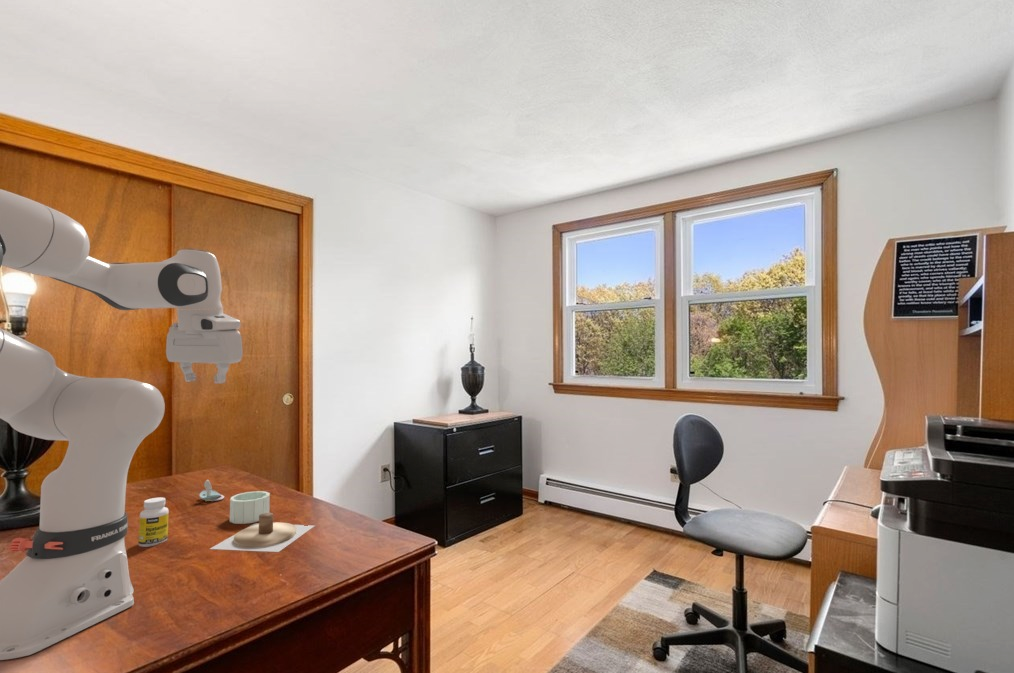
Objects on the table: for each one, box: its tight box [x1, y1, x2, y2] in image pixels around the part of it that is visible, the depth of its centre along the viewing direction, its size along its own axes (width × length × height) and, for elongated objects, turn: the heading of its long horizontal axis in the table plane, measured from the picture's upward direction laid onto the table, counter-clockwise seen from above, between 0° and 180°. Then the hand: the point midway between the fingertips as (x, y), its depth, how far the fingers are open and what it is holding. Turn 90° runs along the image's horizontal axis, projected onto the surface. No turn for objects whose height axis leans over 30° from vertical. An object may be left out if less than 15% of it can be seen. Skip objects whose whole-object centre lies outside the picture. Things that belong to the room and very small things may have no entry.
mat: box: [209, 522, 315, 553], centre depth 111 cm, size 16×16×1 cm
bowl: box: [229, 490, 271, 525], centre depth 124 cm, size 9×9×6 cm
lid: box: [234, 512, 296, 548], centre depth 111 cm, size 13×13×5 cm
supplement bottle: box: [137, 496, 170, 548], centre depth 109 cm, size 5×5×10 cm
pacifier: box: [199, 479, 225, 502], centre depth 141 cm, size 7×6×6 cm
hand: (205, 382), depth 109 cm, fingers open, 8 cm apart
